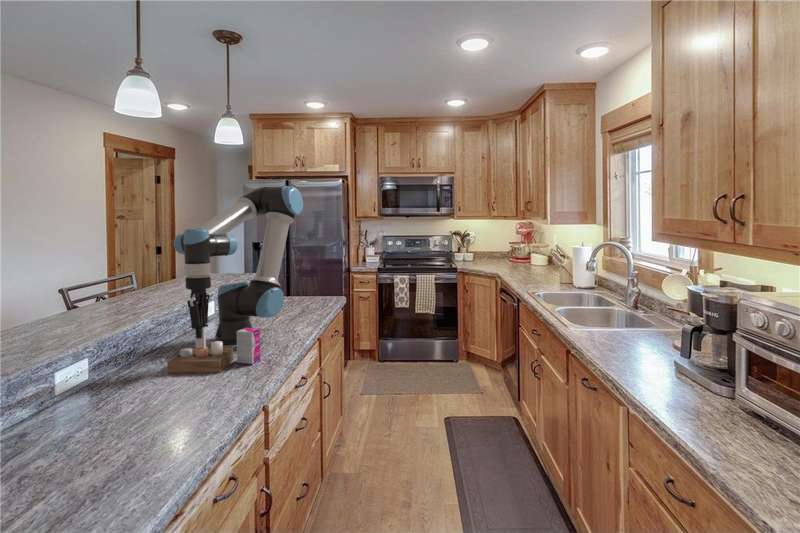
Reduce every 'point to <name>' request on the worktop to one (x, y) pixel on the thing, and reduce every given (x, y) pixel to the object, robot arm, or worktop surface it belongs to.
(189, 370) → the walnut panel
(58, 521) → the worktop surface
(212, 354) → the white egg
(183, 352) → the pale blue egg
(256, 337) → the supplement box
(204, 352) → the brown egg
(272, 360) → the worktop surface
